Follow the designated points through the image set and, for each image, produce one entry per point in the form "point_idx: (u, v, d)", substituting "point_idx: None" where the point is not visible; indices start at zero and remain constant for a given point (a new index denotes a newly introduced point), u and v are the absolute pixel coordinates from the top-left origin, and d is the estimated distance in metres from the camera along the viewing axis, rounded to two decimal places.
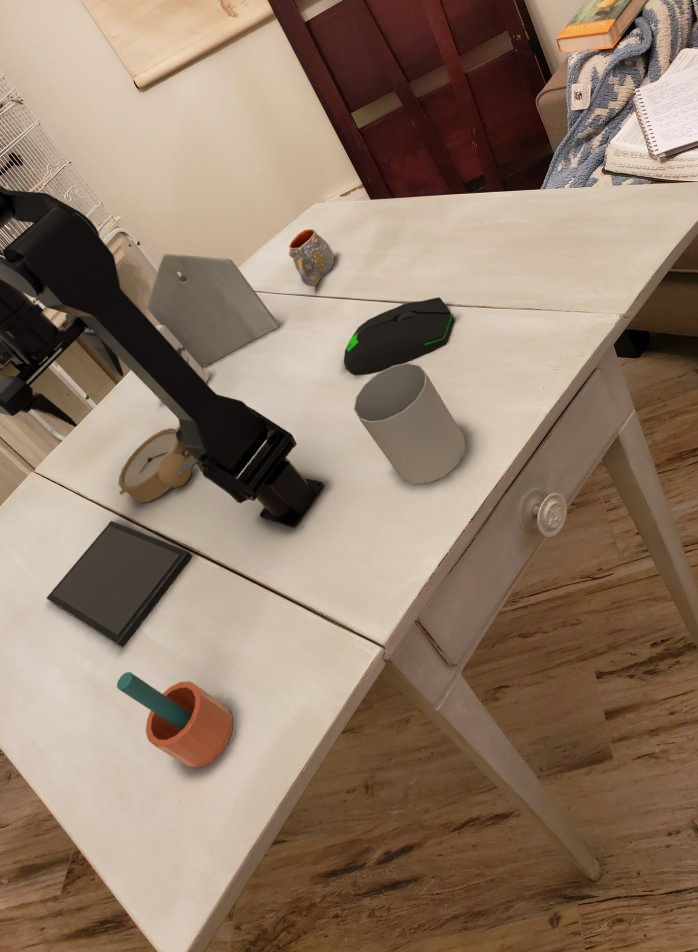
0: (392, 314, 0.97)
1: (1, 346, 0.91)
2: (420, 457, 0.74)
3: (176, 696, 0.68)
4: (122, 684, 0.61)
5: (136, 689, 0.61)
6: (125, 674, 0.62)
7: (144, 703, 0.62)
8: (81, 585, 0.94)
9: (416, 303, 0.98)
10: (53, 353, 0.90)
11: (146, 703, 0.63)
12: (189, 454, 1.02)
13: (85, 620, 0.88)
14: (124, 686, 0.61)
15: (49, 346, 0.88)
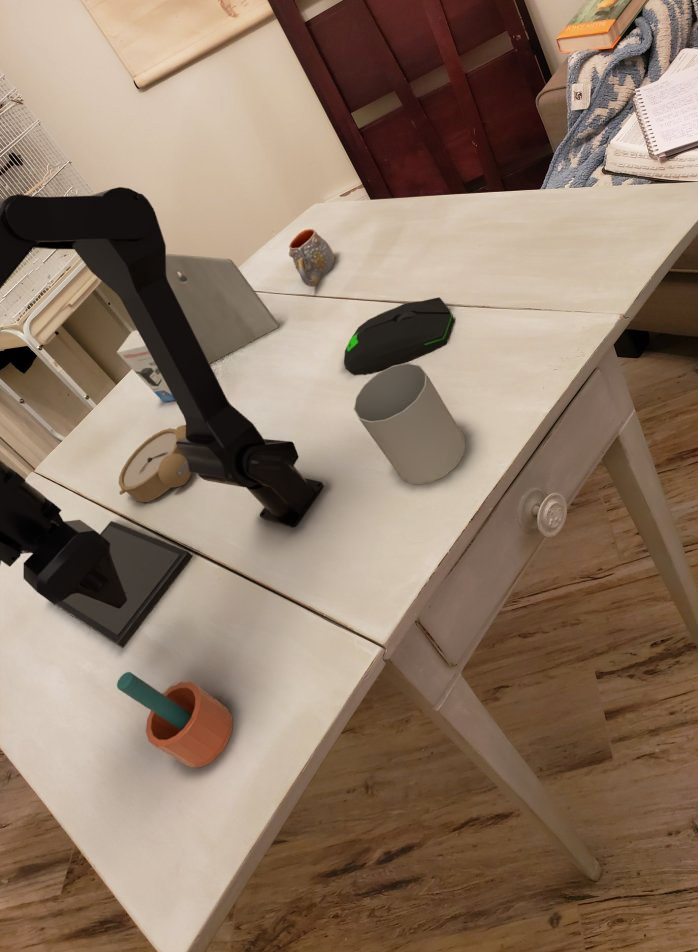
0: (392, 314, 0.97)
1: None
2: (420, 457, 0.74)
3: (176, 696, 0.68)
4: (122, 684, 0.61)
5: (136, 689, 0.61)
6: (125, 674, 0.62)
7: (144, 703, 0.62)
8: None
9: (416, 303, 0.98)
10: None
11: (146, 703, 0.63)
12: None
13: (85, 620, 0.88)
14: (124, 686, 0.61)
15: None
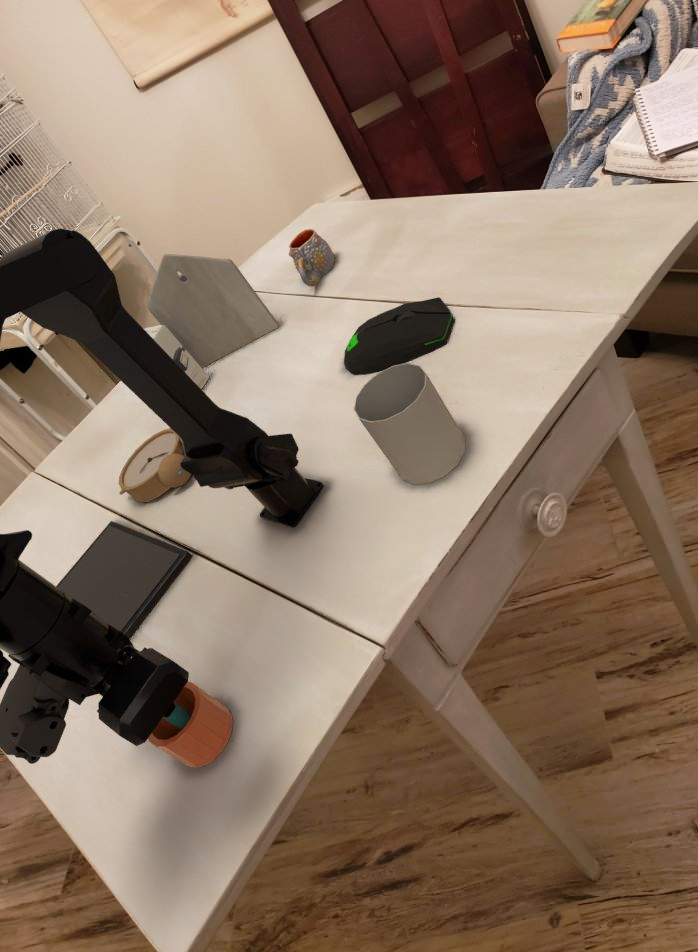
0: (392, 314, 0.97)
1: (43, 701, 0.54)
2: (420, 457, 0.74)
3: None
4: None
5: None
6: None
7: None
8: (81, 585, 0.94)
9: (416, 303, 0.98)
10: None
11: None
12: None
13: None
14: None
15: (109, 625, 0.60)
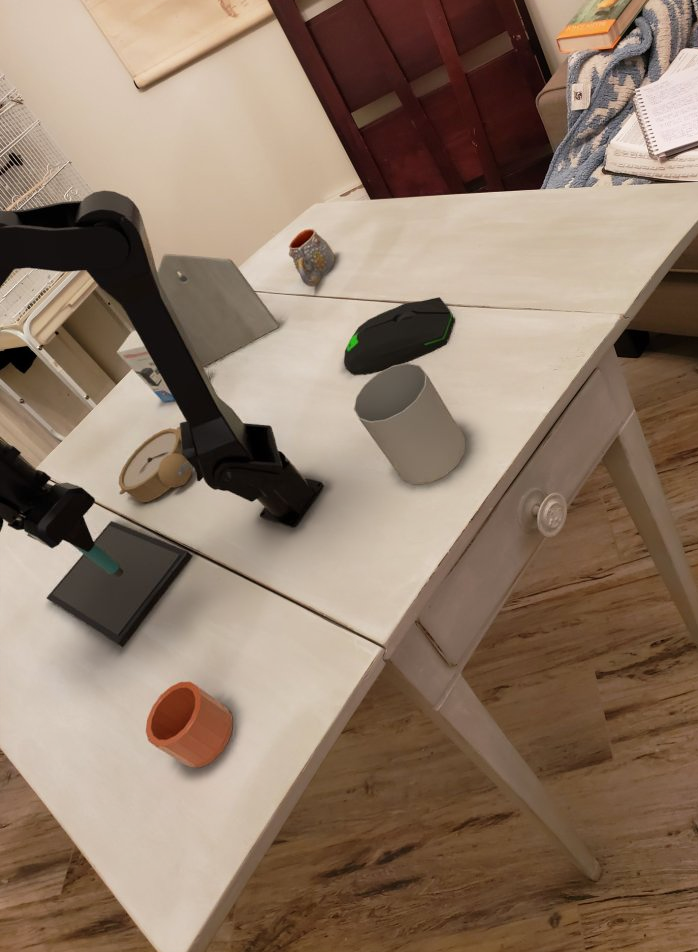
0: (392, 314, 0.97)
1: None
2: (420, 457, 0.74)
3: (176, 696, 0.68)
4: None
5: None
6: None
7: None
8: (81, 585, 0.94)
9: (416, 303, 0.98)
10: None
11: None
12: None
13: (85, 620, 0.88)
14: None
15: None
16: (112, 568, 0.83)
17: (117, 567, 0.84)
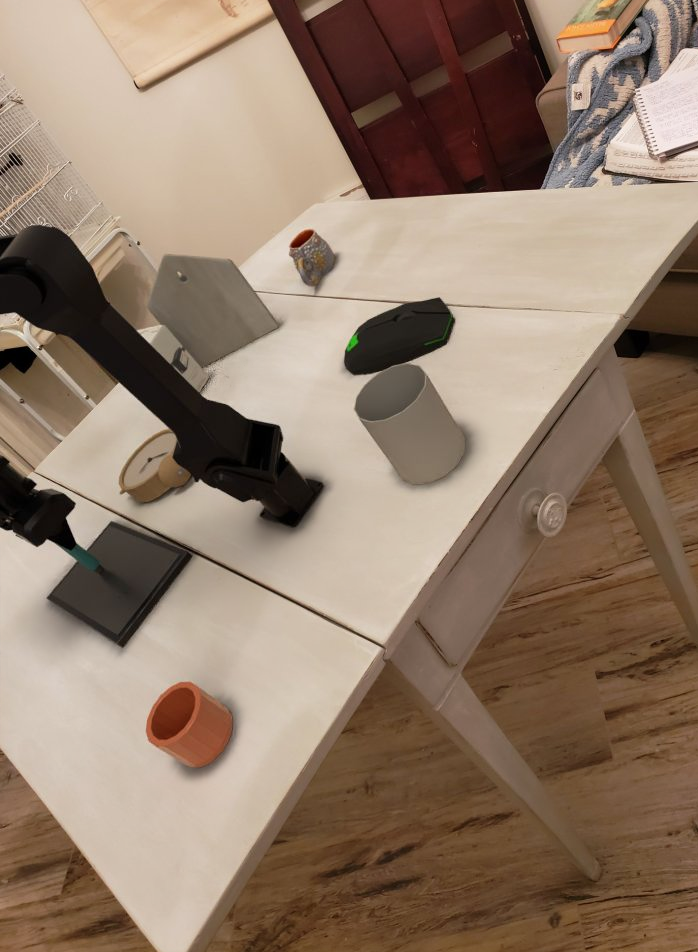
0: (392, 314, 0.97)
1: None
2: (420, 457, 0.74)
3: (176, 696, 0.68)
4: None
5: None
6: None
7: None
8: (81, 585, 0.94)
9: (416, 303, 0.98)
10: None
11: None
12: None
13: (85, 620, 0.88)
14: None
15: None
16: (93, 565, 0.92)
17: (97, 564, 0.93)
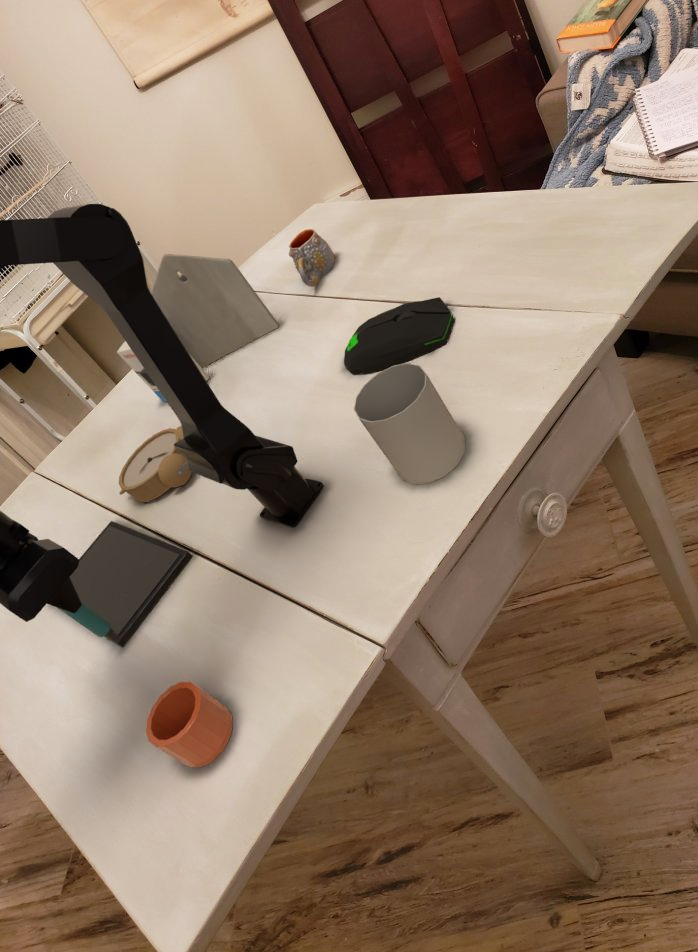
0: (392, 314, 0.97)
1: None
2: (420, 457, 0.74)
3: (176, 696, 0.68)
4: None
5: None
6: None
7: None
8: (81, 585, 0.94)
9: (416, 303, 0.98)
10: None
11: None
12: None
13: None
14: None
15: None
16: (102, 630, 0.71)
17: (108, 629, 0.72)
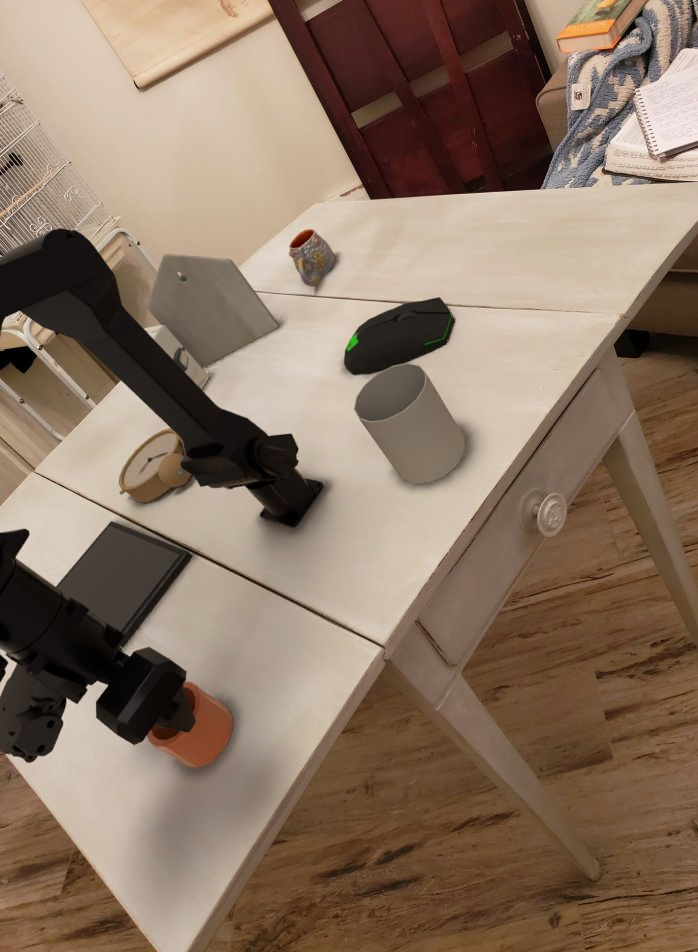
0: (392, 314, 0.97)
1: (40, 700, 0.54)
2: (420, 457, 0.74)
3: None
4: None
5: None
6: None
7: None
8: (81, 585, 0.94)
9: (416, 303, 0.98)
10: None
11: None
12: None
13: None
14: None
15: (107, 624, 0.59)
16: None
17: None
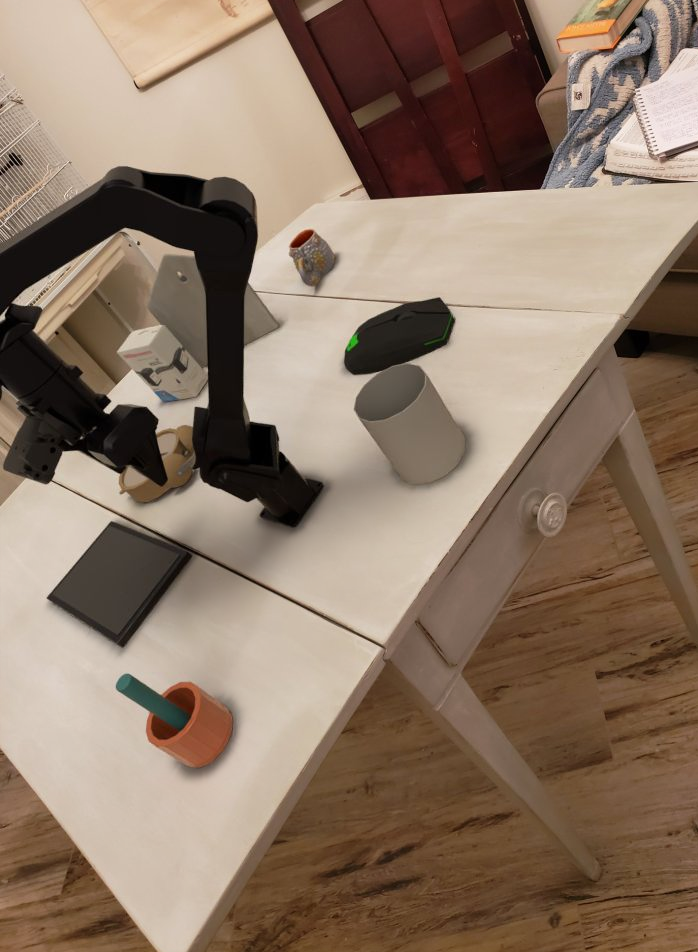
0: (392, 314, 0.97)
1: (44, 435, 0.69)
2: (420, 457, 0.74)
3: (176, 696, 0.68)
4: (121, 686, 0.61)
5: (135, 690, 0.61)
6: (124, 675, 0.62)
7: (143, 704, 0.62)
8: (81, 585, 0.94)
9: (416, 303, 0.98)
10: None
11: (145, 704, 0.63)
12: (189, 454, 1.02)
13: (85, 620, 0.88)
14: (122, 687, 0.61)
15: None
16: None
17: None
